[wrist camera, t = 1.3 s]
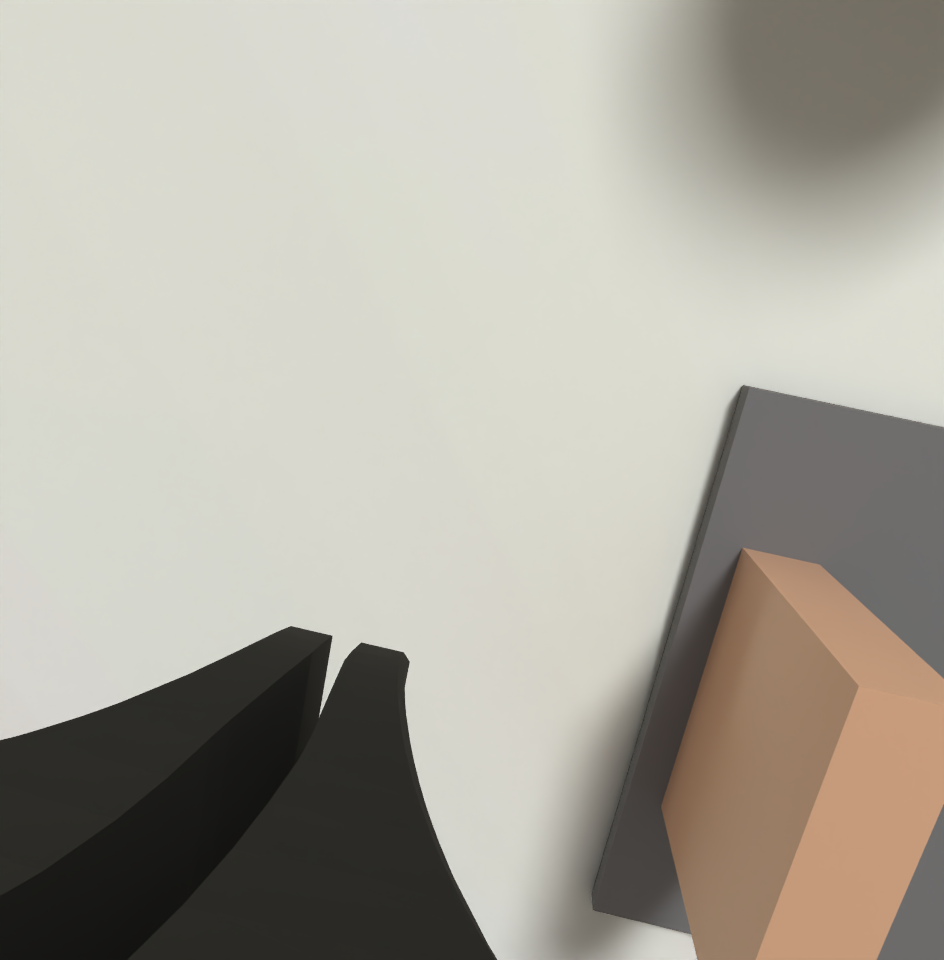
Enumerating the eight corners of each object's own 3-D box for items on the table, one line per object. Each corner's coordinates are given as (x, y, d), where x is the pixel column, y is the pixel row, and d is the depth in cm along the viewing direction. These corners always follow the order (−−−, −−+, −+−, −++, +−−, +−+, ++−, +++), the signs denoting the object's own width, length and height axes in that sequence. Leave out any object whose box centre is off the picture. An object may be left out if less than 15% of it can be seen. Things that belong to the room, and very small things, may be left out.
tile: (735, 824, 20) (832, 1082, 14) (661, 806, 20) (719, 1053, 14) (825, 566, 18) (991, 715, 12) (742, 547, 18) (858, 685, 12)
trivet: (1085, 1015, 21) (1100, 1034, 21) (591, 894, 22) (593, 909, 21) (1353, 514, 17) (1381, 520, 17) (742, 384, 18) (749, 387, 17)
